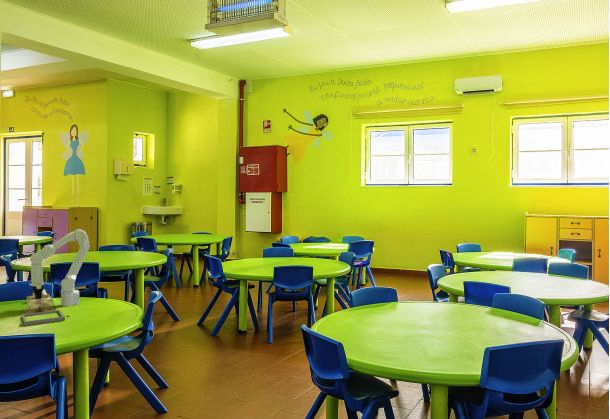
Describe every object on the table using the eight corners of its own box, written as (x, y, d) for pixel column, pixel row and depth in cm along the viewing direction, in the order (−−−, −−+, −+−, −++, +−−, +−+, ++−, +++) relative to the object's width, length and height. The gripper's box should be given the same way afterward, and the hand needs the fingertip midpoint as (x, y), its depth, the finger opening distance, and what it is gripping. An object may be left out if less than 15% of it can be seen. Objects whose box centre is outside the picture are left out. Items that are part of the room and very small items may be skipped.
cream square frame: (49, 300, 290) (48, 293, 289) (51, 305, 279) (51, 298, 279) (26, 303, 284) (26, 296, 283) (28, 308, 273) (28, 301, 273)
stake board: (53, 307, 291) (52, 295, 291) (56, 313, 278) (56, 301, 277) (22, 311, 283) (22, 299, 283) (25, 317, 270) (24, 305, 269)
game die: (39, 308, 307) (32, 297, 300) (33, 301, 312) (25, 290, 305) (53, 298, 312) (46, 287, 305) (46, 292, 316) (40, 281, 310)
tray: (60, 313, 277) (60, 309, 277) (65, 320, 262) (64, 316, 262) (22, 318, 268) (21, 314, 267) (24, 326, 252) (24, 322, 252)
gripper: (27, 274, 289) (29, 298, 289) (30, 278, 276) (31, 303, 277) (42, 272, 292) (43, 296, 293) (44, 276, 280) (45, 301, 281)
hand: (38, 299), depth 285 cm, fingers closed on cream square frame, 3 cm apart
